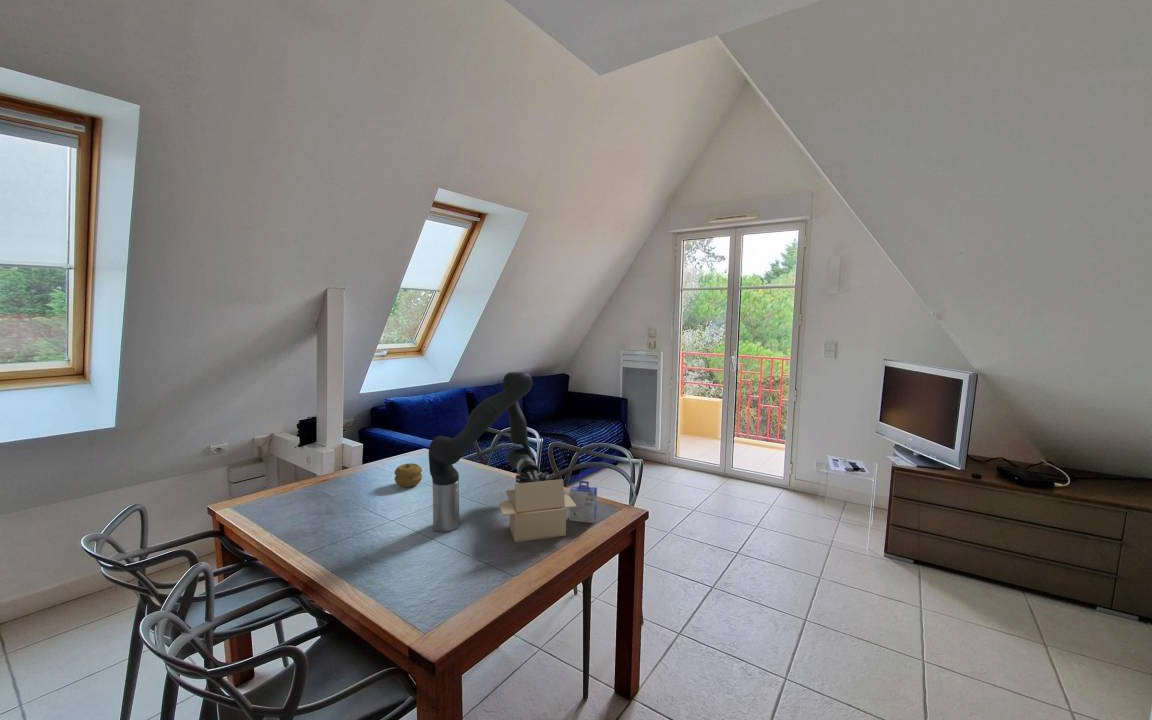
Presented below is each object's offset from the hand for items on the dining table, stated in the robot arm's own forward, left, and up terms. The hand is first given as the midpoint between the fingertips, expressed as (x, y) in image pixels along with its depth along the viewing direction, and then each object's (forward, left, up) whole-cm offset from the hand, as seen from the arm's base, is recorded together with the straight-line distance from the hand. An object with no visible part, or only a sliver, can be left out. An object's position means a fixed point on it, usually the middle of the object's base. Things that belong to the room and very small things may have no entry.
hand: (537, 485), depth 167 cm
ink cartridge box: (+19, +5, -17) cm, 26 cm away
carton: (0, +4, -17) cm, 18 cm away
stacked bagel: (-46, +59, -17) cm, 77 cm away
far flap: (0, -4, -2) cm, 5 cm away
